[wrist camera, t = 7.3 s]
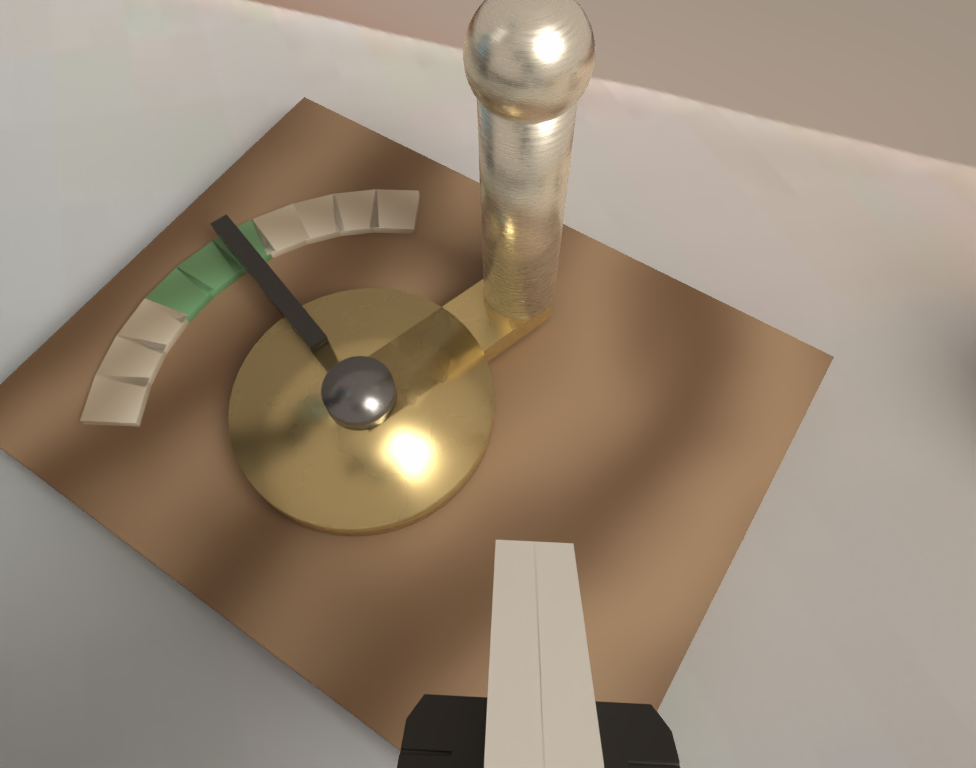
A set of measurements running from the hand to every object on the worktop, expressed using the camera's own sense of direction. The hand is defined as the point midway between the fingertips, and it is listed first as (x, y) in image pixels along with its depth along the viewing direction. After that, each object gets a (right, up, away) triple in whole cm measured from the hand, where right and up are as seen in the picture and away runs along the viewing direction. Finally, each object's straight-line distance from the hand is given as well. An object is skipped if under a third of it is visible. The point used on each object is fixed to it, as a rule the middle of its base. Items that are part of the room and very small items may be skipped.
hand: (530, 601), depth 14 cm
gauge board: (-4, +3, +13) cm, 14 cm away
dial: (-4, +5, +12) cm, 14 cm away
